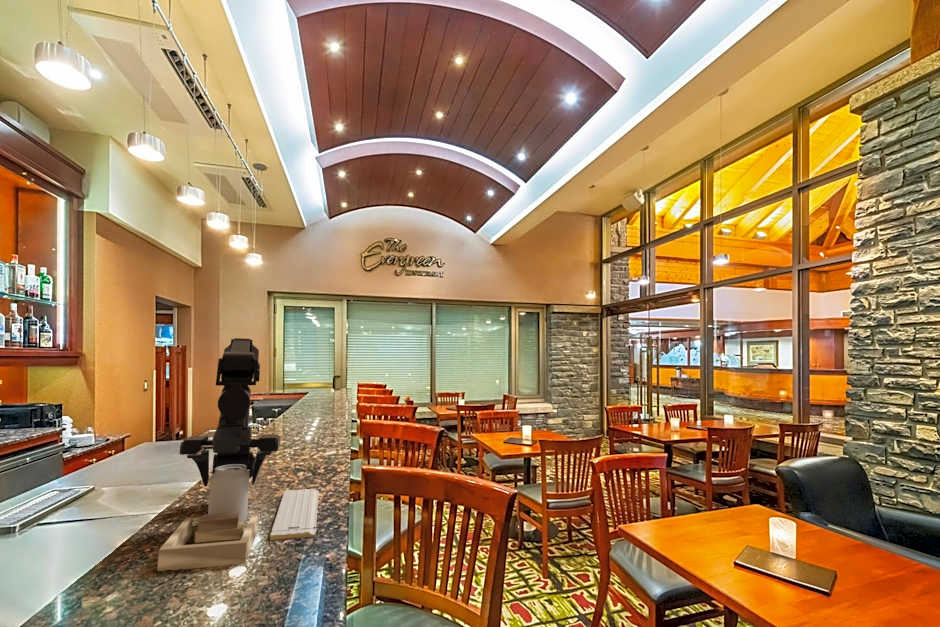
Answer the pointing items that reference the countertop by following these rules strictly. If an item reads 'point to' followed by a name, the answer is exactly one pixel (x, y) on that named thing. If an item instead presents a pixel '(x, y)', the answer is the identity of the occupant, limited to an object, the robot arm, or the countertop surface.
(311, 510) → the baseboard
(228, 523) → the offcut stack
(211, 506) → the can
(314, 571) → the countertop surface
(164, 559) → the rack
